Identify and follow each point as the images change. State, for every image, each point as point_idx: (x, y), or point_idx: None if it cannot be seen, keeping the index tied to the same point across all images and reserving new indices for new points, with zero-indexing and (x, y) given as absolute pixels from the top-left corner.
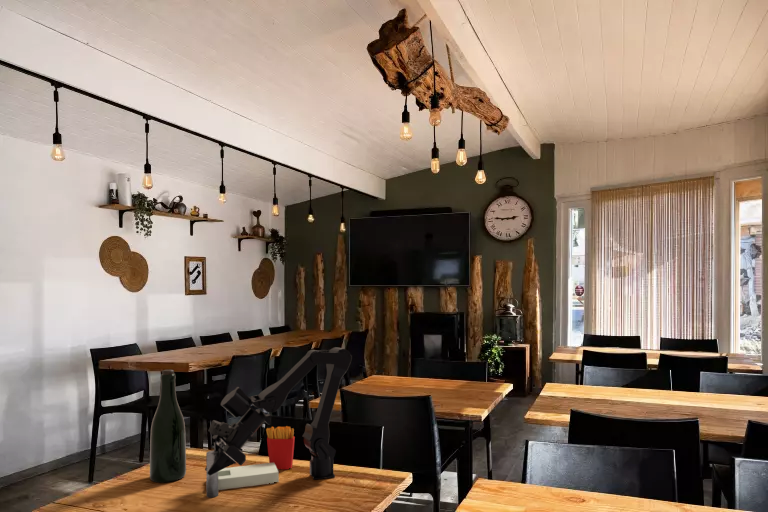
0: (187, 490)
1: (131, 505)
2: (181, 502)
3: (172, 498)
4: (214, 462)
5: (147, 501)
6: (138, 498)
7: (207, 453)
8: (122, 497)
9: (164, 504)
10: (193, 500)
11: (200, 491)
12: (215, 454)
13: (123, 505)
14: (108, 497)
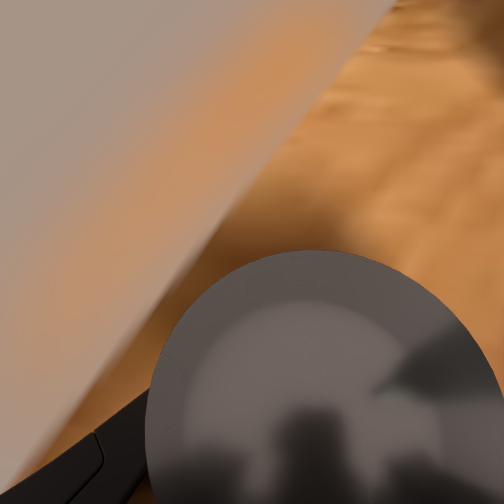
0: (465, 312)
1: (340, 71)
2: (256, 246)
3: (350, 216)
4: (132, 433)
5: (361, 120)
6: (423, 96)
7: (262, 261)
8: (464, 54)
9: (275, 173)
10: None
11: None
12: (155, 473)
13: (356, 51)
14: (484, 20)
